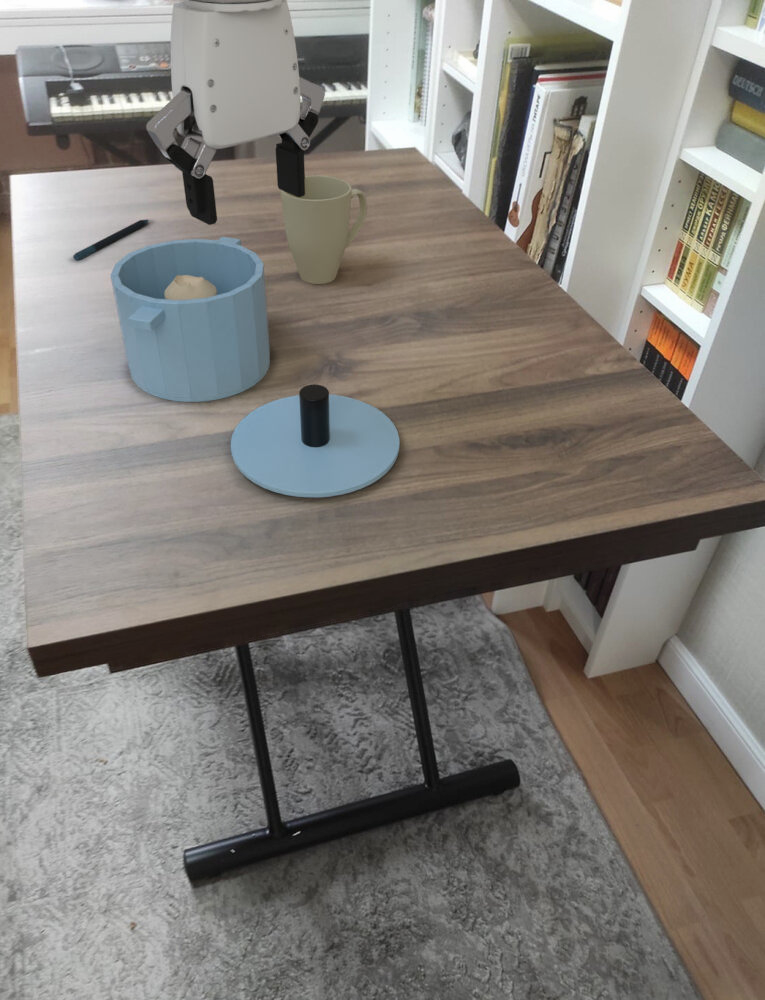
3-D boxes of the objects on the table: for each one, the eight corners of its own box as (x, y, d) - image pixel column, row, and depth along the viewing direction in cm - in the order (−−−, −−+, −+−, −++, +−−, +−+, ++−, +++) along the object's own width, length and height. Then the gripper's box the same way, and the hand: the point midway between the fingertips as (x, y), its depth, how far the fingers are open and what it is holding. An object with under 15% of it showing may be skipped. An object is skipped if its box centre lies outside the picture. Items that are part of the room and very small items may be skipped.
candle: (229, 350, 96) (220, 268, 90) (217, 375, 92) (207, 291, 86) (182, 347, 97) (170, 265, 90) (168, 371, 92) (155, 288, 86)
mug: (349, 295, 109) (349, 204, 101) (276, 286, 110) (271, 196, 103) (367, 261, 117) (368, 174, 109) (299, 253, 119) (295, 167, 111)
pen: (151, 224, 126) (150, 216, 125) (79, 262, 115) (77, 254, 114) (146, 223, 126) (144, 215, 126) (73, 261, 115) (71, 252, 115)
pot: (89, 400, 89) (65, 300, 81) (181, 312, 104) (168, 222, 97) (224, 427, 85) (212, 326, 78) (298, 332, 101) (294, 241, 94)
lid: (202, 481, 79) (193, 423, 74) (270, 391, 91) (266, 336, 87) (370, 518, 75) (371, 459, 71) (417, 419, 87) (421, 363, 83)
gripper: (288, -36, 70) (297, 173, 81) (102, -15, 60) (141, 218, 71) (348, -24, 66) (349, 194, 77) (159, 1, 56) (191, 245, 67)
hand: (249, 205), depth 74 cm, fingers open, 9 cm apart
